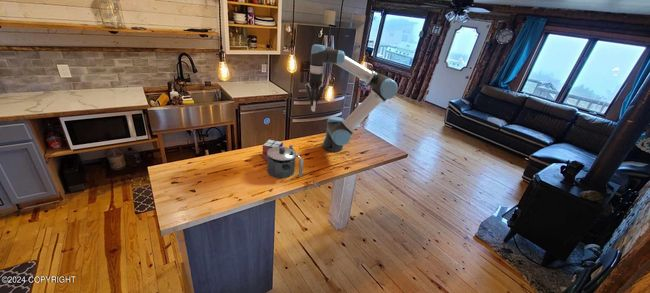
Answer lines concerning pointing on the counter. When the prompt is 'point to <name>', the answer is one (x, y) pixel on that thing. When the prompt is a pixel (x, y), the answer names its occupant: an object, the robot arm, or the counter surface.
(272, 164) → the pot
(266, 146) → the puzzle cube
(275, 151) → the lid
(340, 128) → the robot arm
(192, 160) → the counter surface
